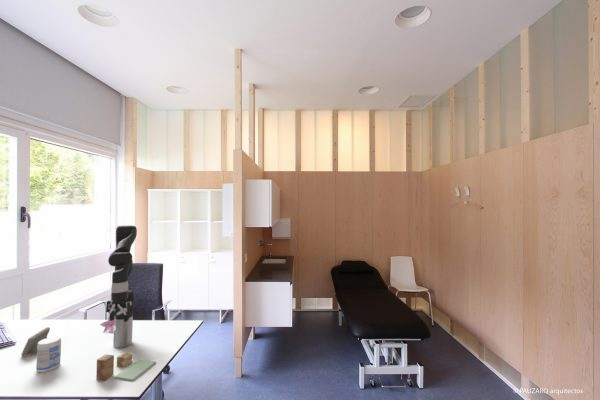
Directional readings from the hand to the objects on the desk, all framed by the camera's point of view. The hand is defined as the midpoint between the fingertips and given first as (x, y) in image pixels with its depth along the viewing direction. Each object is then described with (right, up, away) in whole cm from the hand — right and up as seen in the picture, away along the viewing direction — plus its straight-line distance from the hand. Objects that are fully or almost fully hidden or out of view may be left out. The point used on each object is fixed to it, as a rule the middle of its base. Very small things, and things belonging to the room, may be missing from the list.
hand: (119, 320), depth 143 cm
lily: (-37, -28, +46) cm, 65 cm away
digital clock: (-64, -27, +20) cm, 72 cm away
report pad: (+9, -27, 0) cm, 28 cm away
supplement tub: (-40, -27, +2) cm, 48 cm away
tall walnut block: (-3, -26, -6) cm, 27 cm away
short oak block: (-1, -27, +6) cm, 27 cm away
